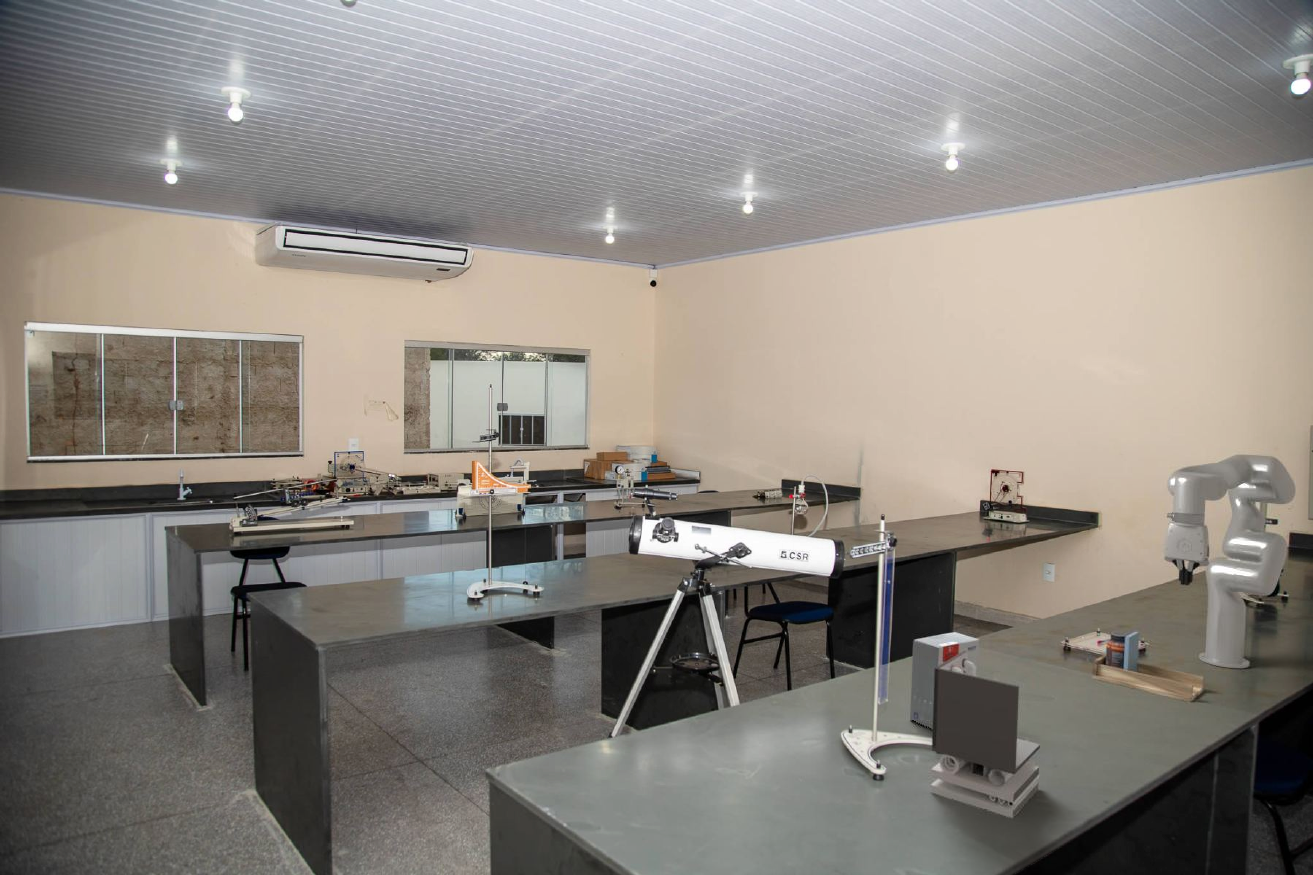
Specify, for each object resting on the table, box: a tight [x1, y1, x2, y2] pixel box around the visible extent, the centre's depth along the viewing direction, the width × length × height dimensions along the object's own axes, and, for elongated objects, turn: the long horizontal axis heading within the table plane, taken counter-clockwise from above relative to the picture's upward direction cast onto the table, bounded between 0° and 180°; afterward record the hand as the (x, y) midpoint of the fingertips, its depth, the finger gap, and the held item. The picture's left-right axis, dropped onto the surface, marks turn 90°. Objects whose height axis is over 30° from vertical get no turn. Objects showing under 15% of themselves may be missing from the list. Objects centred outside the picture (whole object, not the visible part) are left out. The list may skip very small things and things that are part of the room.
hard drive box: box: [909, 631, 980, 730], centre depth 204 cm, size 16×8×20 cm, turn 122°
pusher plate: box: [1124, 631, 1140, 672], centre depth 235 cm, size 8×1×12 cm, turn 133°
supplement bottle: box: [1105, 631, 1128, 669], centre depth 237 cm, size 6×6×11 cm
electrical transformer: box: [930, 651, 1041, 818], centre depth 168 cm, size 16×19×25 cm
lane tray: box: [1091, 653, 1205, 703], centre depth 232 cm, size 13×24×5 cm, turn 43°
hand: (1185, 584), depth 235 cm, fingers closed
